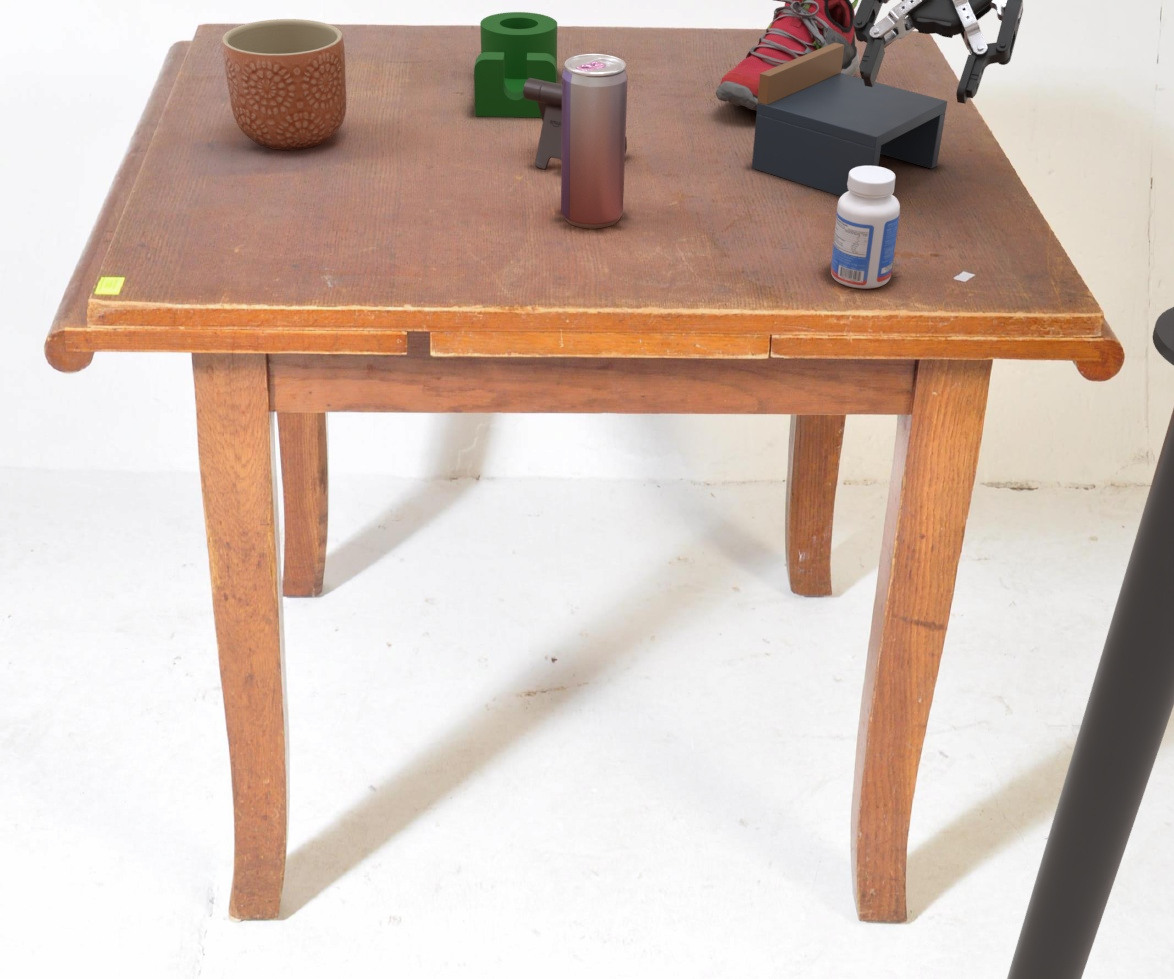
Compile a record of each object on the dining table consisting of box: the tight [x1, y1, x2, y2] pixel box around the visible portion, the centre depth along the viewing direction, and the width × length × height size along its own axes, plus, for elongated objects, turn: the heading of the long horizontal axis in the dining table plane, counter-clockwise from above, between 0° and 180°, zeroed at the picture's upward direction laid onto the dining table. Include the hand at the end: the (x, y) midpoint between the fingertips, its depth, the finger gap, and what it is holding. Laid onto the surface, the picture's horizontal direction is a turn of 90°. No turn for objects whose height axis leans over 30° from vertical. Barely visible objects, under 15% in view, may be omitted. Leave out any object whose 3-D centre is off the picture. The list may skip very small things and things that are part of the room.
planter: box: [221, 18, 347, 151], centre depth 151 cm, size 12×12×11 cm
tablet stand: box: [523, 78, 628, 170], centre depth 148 cm, size 9×8×8 cm
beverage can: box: [560, 53, 629, 230], centre depth 134 cm, size 6×6×15 cm
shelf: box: [751, 43, 948, 197], centre depth 147 cm, size 14×14×10 cm
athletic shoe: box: [715, 0, 860, 112], centre depth 164 cm, size 12×25×12 cm, turn 128°
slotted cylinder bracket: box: [473, 11, 558, 118], centre depth 166 cm, size 18×9×6 cm, turn 0°
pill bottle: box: [830, 165, 901, 290], centre depth 126 cm, size 6×5×10 cm
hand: (913, 91), depth 128 cm, fingers open, 8 cm apart
